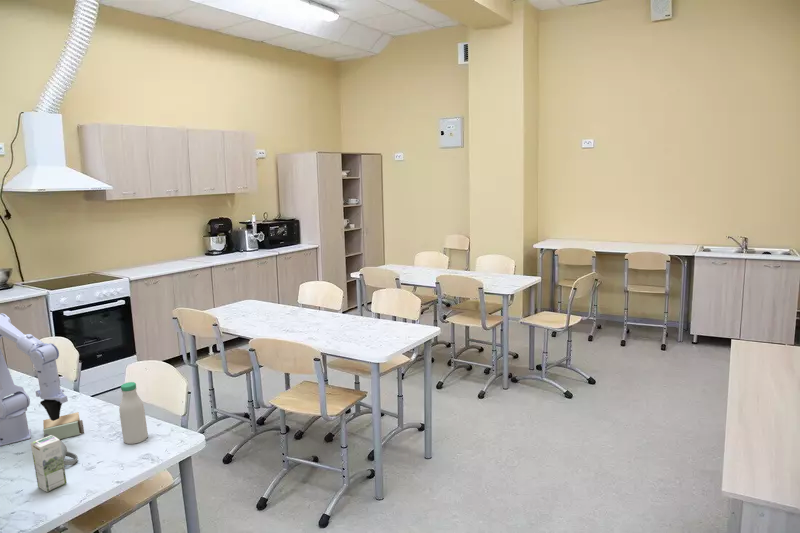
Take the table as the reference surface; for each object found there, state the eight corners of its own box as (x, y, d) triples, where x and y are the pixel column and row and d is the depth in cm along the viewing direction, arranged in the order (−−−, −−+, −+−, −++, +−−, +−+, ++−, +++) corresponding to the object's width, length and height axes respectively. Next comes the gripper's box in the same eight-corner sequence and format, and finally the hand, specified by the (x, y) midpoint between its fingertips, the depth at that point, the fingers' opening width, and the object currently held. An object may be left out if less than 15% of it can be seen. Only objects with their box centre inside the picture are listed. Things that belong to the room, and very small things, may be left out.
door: (45, 443, 198) (43, 431, 197) (45, 441, 200) (43, 429, 199) (79, 435, 203) (77, 423, 203) (79, 433, 205) (77, 421, 204)
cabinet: (45, 443, 199) (43, 429, 198) (45, 433, 207) (43, 420, 206) (84, 433, 205) (82, 420, 204) (82, 424, 213) (80, 411, 212)
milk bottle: (152, 438, 199) (144, 383, 196) (129, 447, 194) (121, 390, 190) (142, 431, 205) (134, 378, 201) (119, 440, 199) (111, 385, 195)
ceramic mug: (38, 476, 178) (34, 453, 176) (41, 464, 185) (37, 441, 184) (77, 467, 182) (74, 445, 181) (78, 456, 190) (75, 434, 188)
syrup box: (57, 478, 176) (50, 433, 174) (67, 483, 173) (60, 438, 170) (37, 487, 172) (29, 441, 169) (47, 493, 168) (39, 446, 166)
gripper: (73, 379, 192) (79, 418, 195) (48, 373, 199) (54, 410, 202) (52, 387, 186) (59, 427, 189) (26, 381, 193) (33, 419, 196)
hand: (55, 419), depth 195 cm, fingers closed
